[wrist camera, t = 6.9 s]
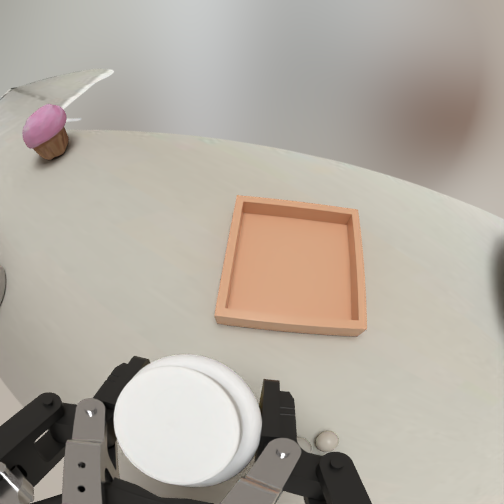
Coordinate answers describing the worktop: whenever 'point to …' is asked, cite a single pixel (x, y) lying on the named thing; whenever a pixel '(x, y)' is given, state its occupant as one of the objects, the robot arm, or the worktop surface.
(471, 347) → the worktop surface
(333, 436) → the pebbles
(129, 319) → the worktop surface
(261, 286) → the terracotta dish
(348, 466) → the robot arm
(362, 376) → the worktop surface
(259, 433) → the supplement bottle
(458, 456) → the worktop surface
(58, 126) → the cupcake
